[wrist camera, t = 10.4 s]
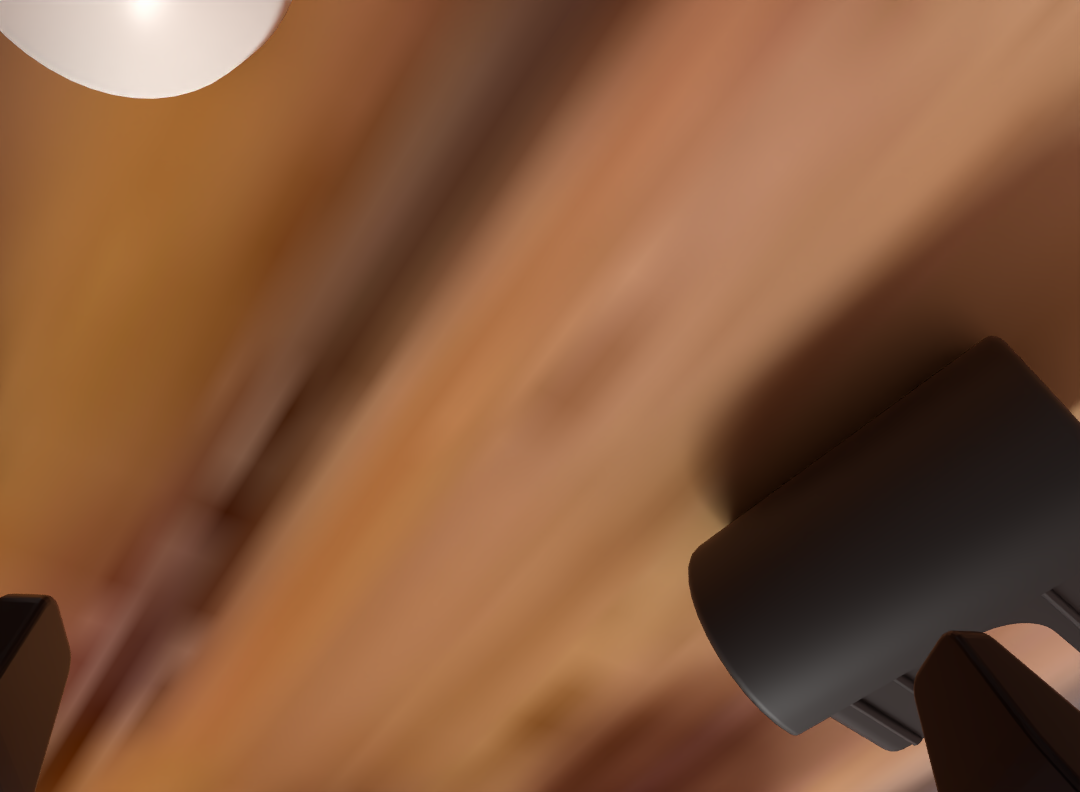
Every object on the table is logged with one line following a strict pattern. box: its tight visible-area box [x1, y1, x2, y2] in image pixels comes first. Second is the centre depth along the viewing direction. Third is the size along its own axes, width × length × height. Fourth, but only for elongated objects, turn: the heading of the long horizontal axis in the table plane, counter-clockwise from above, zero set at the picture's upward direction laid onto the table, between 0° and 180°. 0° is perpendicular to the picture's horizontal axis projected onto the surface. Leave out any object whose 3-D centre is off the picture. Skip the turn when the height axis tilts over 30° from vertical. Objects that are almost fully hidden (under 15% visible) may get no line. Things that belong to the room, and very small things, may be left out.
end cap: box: [688, 336, 1080, 751], centre depth 23 cm, size 10×7×7 cm
